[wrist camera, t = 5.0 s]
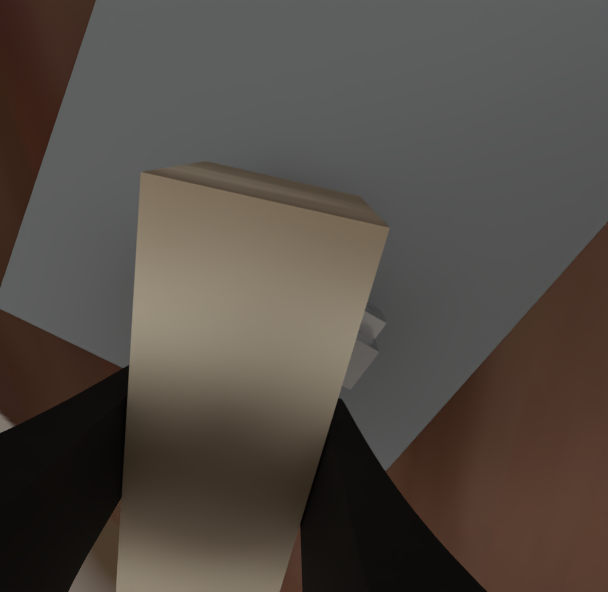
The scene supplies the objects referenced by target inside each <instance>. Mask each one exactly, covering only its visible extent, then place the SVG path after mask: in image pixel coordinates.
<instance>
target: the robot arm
mask: <svg viewBox="0 0 608 592" xmlns="http://www.w3.org/2000/svg"><path fill="white" fill-rule="evenodd" d="M128 381H129V365H128V366H126V367H124V368H123V369H121V370H119V371H118V372H116V373H114V374H112V375H111V376H109V377H107V378H106V379H104V380H102V381H100V382H99V383H97V384H95V385H93V386H92V387H90V388H88V389H86V390H84V391H83V392H81V393H79V394H77V395H76V396H74V397H72V398H70V399H68V400H66V401H65V402H63V403H61V404H59V405H57V406H55V407H53V408H51V409H49V410H47V411H45V412H43V413H41V414H39V415H37V416H35V417H33V418H31V419H29V420H27V421H25V422H23V423H21V424H19V425H17V426H15V427H13V428H10V429H8V430H6V431H4V432H2V433H0V592H68V591H69V589H70V587H71V585H72V583H73V581H74V579H75V577H76V575H77V573H78V571H79V569H80V568H81V566H82V564H83V562H84V560H85V558H86V557H87V555H88V553H89V552H90V550H91V548H92V546H93V545H94V543H95V541H96V540H97V538H98V536H99V534H100V533H101V531H102V529H103V528H104V526H105V524H106V523H107V521H108V519H109V518H110V516H111V514H112V513H113V511H114V509H115V507H116V506H117V504H118V502H119V501H120V499H121V497H122V483H123V466H124V449H125V432H126V415H127V398H128ZM300 528H301V557H302V586H303V592H487V591H486V590H485V589H484V588H483V587H482V586H481V585H480V584H479V583H478V582H477V581H476V580H475V579H474V578H473V577H472V576H471V575H470V574H469V573H468V572H467V570H466V569H465V568H464V567H463V566H462V565H461V564H460V563H459V562H458V561H457V560H456V559H455V558H454V557H453V556H452V555H451V554H450V552H449V551H448V550H447V549H446V548H445V547H444V546H443V545H442V544H441V542H440V541H439V540H438V539H437V538H436V537H435V536H434V534H433V533H432V532H431V531H430V530H429V528H428V527H427V526H426V525H425V523H424V522H423V521H422V520H421V519H420V517H419V516H418V515H417V514H416V513H415V511H414V510H413V509H412V508H411V506H410V505H409V504H408V502H407V501H406V500H405V499H404V497H403V496H402V494H401V493H400V492H399V490H398V489H397V487H396V486H395V485H394V483H393V482H392V480H391V479H390V478H389V476H388V475H387V473H386V472H385V470H384V469H383V467H382V466H381V464H380V462H379V461H378V459H377V458H376V456H375V454H374V453H373V451H372V450H371V448H370V447H369V445H368V443H367V442H366V440H365V438H364V437H363V435H362V433H361V431H360V430H359V428H358V426H357V424H356V423H355V421H354V419H353V417H352V415H351V414H350V412H349V410H348V408H347V406H346V405H345V403H344V401H343V400H342V399H340V398H338V400H337V404H336V407H335V410H334V414H333V417H332V420H331V424H330V427H329V430H328V433H327V437H326V440H325V443H324V447H323V450H322V453H321V457H320V460H319V463H318V466H317V470H316V473H315V476H314V480H313V483H312V486H311V490H310V493H309V496H308V499H307V503H306V506H305V509H304V513H303V516H302V519H301V523H300Z"/></svg>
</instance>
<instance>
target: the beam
mask: <svg viewBox="0 0 608 592" xmlns="http://www.w3.org/2000/svg"><path fill="white" fill-rule="evenodd" d="M389 229H390V227H389V226H388V225H387V224H386V223H385V222H384V221H383V220H382V219H381V218H380V217H379V216H378V215H377V214H376V213H375V212H374V210H373V209H372V208H371V207H370V206H369V205H368V204H367V203H366V202H365V201H364V200H363V199H362V198H361V197H360V196H357V195H352V194H348V193H343V192H339V191H335V190H330V189H326V188H322V187H317V186H313V185H308V184H304V183H300V182H295V181H291V180H287V179H282V178H278V177H273V176H269V175H265V174H260V173H256V172H252V171H247V170H243V169H238V168H234V167H230V166H225V165H221V164H217V163H212V162H208V161H204V162H198V163H192V164H186V165H180V166H174V167H168V168H162V169H156V170H150V171H143V172H141V177H140V194H139V211H138V228H137V245H136V262H135V279H134V296H133V313H132V330H131V347H130V364H129V381H128V398H127V415H126V432H125V449H124V466H123V483H122V500H121V516H120V534H119V551H118V568H117V586H116V592H280V589H281V585H282V582H283V579H284V575H285V572H286V569H287V565H288V562H289V559H290V556H291V552H292V549H293V546H294V542H295V539H296V536H297V532H298V529H299V526H300V523H301V519H302V516H303V513H304V509H305V506H306V503H307V499H308V496H309V493H310V490H311V486H312V483H313V480H314V476H315V473H316V470H317V466H318V463H319V460H320V457H321V453H322V450H323V447H324V443H325V440H326V437H327V433H328V430H329V427H330V424H331V420H332V417H333V414H334V410H335V407H336V404H337V400H338V397H339V394H340V391H341V387H342V384H343V381H344V377H345V374H346V371H347V367H348V364H349V361H350V358H351V354H352V351H353V348H354V344H355V341H356V338H357V334H358V331H359V328H360V325H361V321H362V318H363V315H364V311H365V308H366V305H367V302H368V298H369V295H370V292H371V288H372V285H373V282H374V278H375V275H376V272H377V269H378V265H379V262H380V259H381V255H382V252H383V249H384V245H385V242H386V239H387V236H388V232H389Z"/></svg>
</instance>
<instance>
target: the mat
mask: <svg viewBox="0 0 608 592" xmlns="http://www.w3.org/2000/svg"><path fill="white" fill-rule="evenodd" d="M204 161H208V162H212V163H217V164H221V165H225V166H230V167H234V168H238V169H243V170H247V171H252V172H256V173H260V174H265V175H269V176H273V177H278V178H282V179H287V180H291V181H295V182H300V183H304V184H308V185H313V186H317V187H322V188H326V189H330V190H335V191H339V192H343V193H348V194H352V195H357V196H360V197H361V198H362V199H363V200H364V201H365V202H366V203H367V204H368V205H369V206H370V207H371V208H372V209H373V210H374V212H375V213H376V214H377V215H378V216H379V217H380V218H381V219H382V220H383V221H384V222H385V223H386V224H387V225H388V226H389V227H390V229H389V232H388V236H387V239H386V242H385V245H384V249H383V252H382V255H381V259H380V262H379V265H378V269H377V272H376V275H375V278H374V282H373V285H372V288H371V292H370V295H369V298H368V303H369V304H371V305H373V306H375V307H376V308H378V309H380V310H381V312H382V314H383V316H384V319H385V321H386V325H385V326H384V327H383V329H382V330H381V331H380V333H379V334H378V335H377V337H376V338H375V341H376V344H377V347H378V350H379V353H378V355H377V356H376V357H375V359H374V360H373V361H372V362H371V364H370V365H369V366H368V368H367V369H366V370H365V372H364V373H363V374H362V376H361V377H360V378H359V379H358V381H357V382H356V383H355V385H354V386H353V387H352V389H351V390H350V389H348V388H346V387H344V386H342V387H341V391H340V394H339V397H338V398H340V399H342V400H343V401H344V403H345V405H346V406H347V408H348V410H349V412H350V414H351V415H352V417H353V419H354V421H355V423H356V424H357V426H358V428H359V430H360V431H361V433H362V435H363V437H364V438H365V440H366V442H367V443H368V445H369V447H370V448H371V450H372V451H373V453H374V454H375V456H376V458H377V459H378V461H379V462H380V464H381V466H382V467H383V469H384V470H385V471H386V470H387V469H388V468H389V467H390V466H391V465H392V463H393V462H394V461H395V460H396V459H397V458H398V457H399V456H400V454H401V453H402V452H403V451H404V450H405V449H406V448H407V447H408V445H409V444H410V443H411V442H412V441H413V440H414V439H415V438H416V436H417V435H418V434H419V433H420V432H421V431H422V430H423V429H424V427H425V426H426V425H427V424H428V423H429V422H430V421H431V420H432V419H433V417H434V416H435V415H436V414H437V413H438V412H439V411H440V410H441V408H442V407H443V406H444V405H445V404H446V403H447V402H448V401H449V399H450V398H451V397H452V396H453V395H454V394H455V393H456V392H457V390H458V389H459V388H460V387H461V386H462V385H463V384H464V383H465V381H466V380H467V379H468V378H469V377H470V376H471V375H472V374H473V372H474V371H475V370H476V369H477V368H478V367H479V366H480V365H481V363H482V362H483V361H484V360H485V359H486V358H487V357H488V356H489V354H490V353H491V352H492V351H493V350H494V349H495V348H496V347H497V345H498V344H499V343H500V342H501V341H502V340H503V339H504V338H505V336H506V335H507V334H508V333H509V332H510V331H511V330H512V329H513V327H514V326H515V325H516V324H517V323H518V322H519V321H520V320H521V318H522V317H523V316H524V315H525V314H526V313H527V312H528V311H529V309H530V308H531V307H532V306H533V305H534V304H535V303H536V302H537V300H538V299H539V298H540V297H541V296H542V295H543V294H544V293H545V291H546V290H547V289H548V288H549V287H550V286H551V285H552V284H553V282H554V281H555V280H556V279H557V278H558V277H559V276H560V275H561V273H562V272H563V271H564V270H565V269H566V268H567V267H568V266H569V264H570V263H571V262H572V261H573V260H574V259H575V258H576V257H577V255H578V254H579V253H580V252H581V251H582V250H583V249H584V248H585V247H586V245H587V244H588V243H589V242H590V241H591V240H592V239H593V238H594V236H595V235H596V234H597V233H598V232H599V231H600V230H601V229H602V227H603V226H604V225H605V224H606V223H607V222H608V0H96V2H95V5H94V8H93V11H92V14H91V17H90V20H89V23H88V26H87V29H86V32H85V35H84V38H83V41H82V44H81V47H80V50H79V53H78V56H77V59H76V62H75V65H74V68H73V71H72V74H71V77H70V80H69V83H68V86H67V89H66V92H65V95H64V98H63V101H62V104H61V107H60V110H59V113H58V116H57V119H56V122H55V125H54V128H53V131H52V134H51V137H50V140H49V143H48V146H47V149H46V152H45V155H44V158H43V161H42V164H41V167H40V170H39V173H38V176H37V179H36V182H35V185H34V188H33V191H32V194H31V197H30V200H29V203H28V206H27V209H26V212H25V215H24V218H23V222H22V225H21V228H20V231H19V234H18V237H17V240H16V243H15V246H14V249H13V252H12V255H11V258H10V261H9V264H8V267H7V270H6V273H5V276H4V279H3V282H2V285H1V288H0V309H2V310H4V311H6V312H8V313H10V314H12V315H14V316H16V317H18V318H20V319H22V320H24V321H27V322H29V323H31V324H33V325H35V326H37V327H39V328H41V329H43V330H45V331H47V332H49V333H51V334H54V335H56V336H58V337H60V338H62V339H64V340H66V341H68V342H70V343H72V344H74V345H76V346H78V347H80V348H83V349H85V350H87V351H89V352H91V353H93V354H95V355H97V356H99V357H101V358H103V359H105V360H107V361H110V362H112V363H114V364H116V365H118V366H120V367H122V368H124V367H126V366H128V365H129V364H130V347H131V330H132V313H133V296H134V279H135V262H136V245H137V228H138V211H139V194H140V177H141V172H143V171H150V170H156V169H162V168H168V167H174V166H180V165H186V164H192V163H198V162H204Z"/></svg>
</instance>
